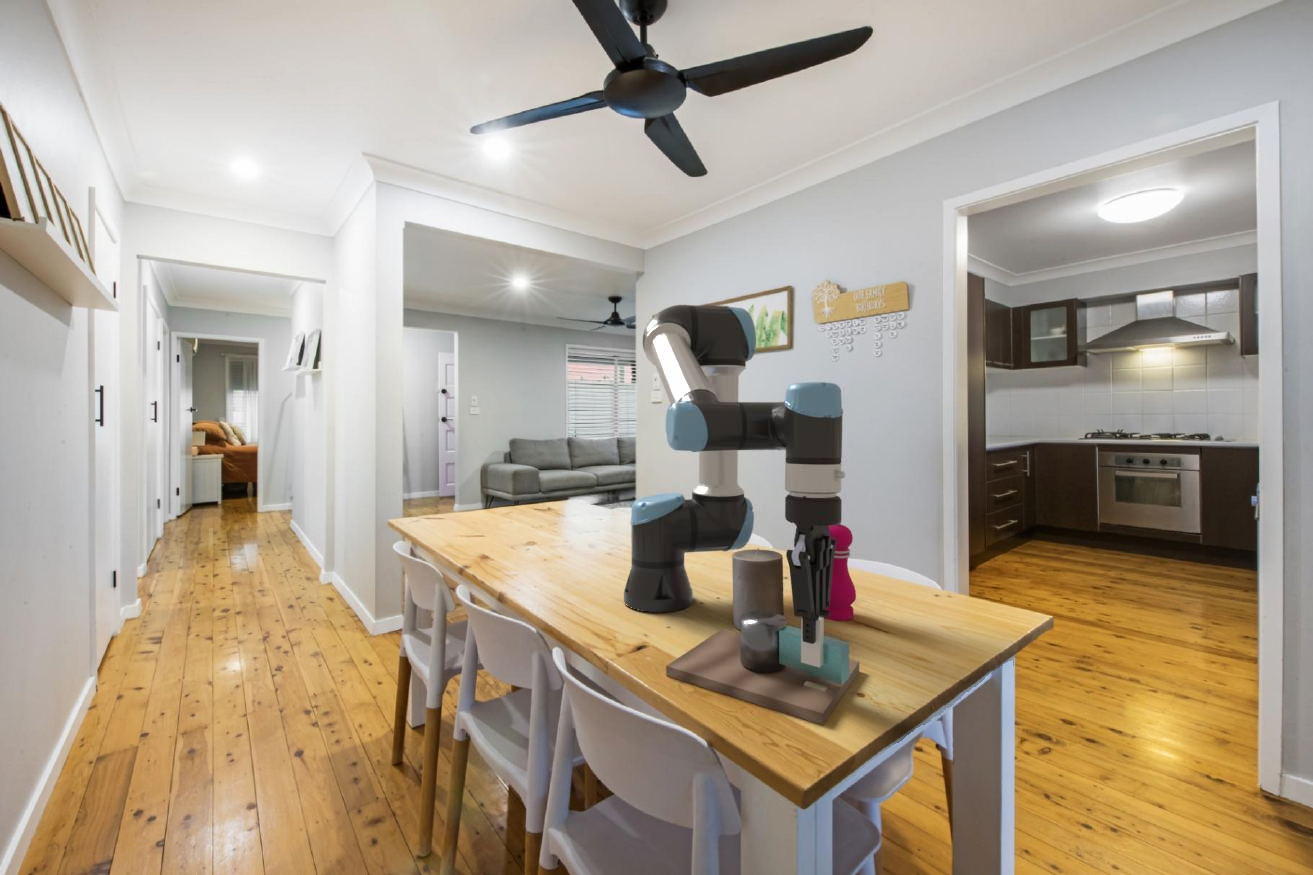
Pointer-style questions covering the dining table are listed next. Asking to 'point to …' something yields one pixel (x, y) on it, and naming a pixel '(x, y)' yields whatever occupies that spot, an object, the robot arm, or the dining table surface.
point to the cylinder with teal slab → (787, 648)
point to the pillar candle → (757, 582)
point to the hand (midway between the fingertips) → (812, 663)
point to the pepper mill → (841, 576)
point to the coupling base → (758, 679)
